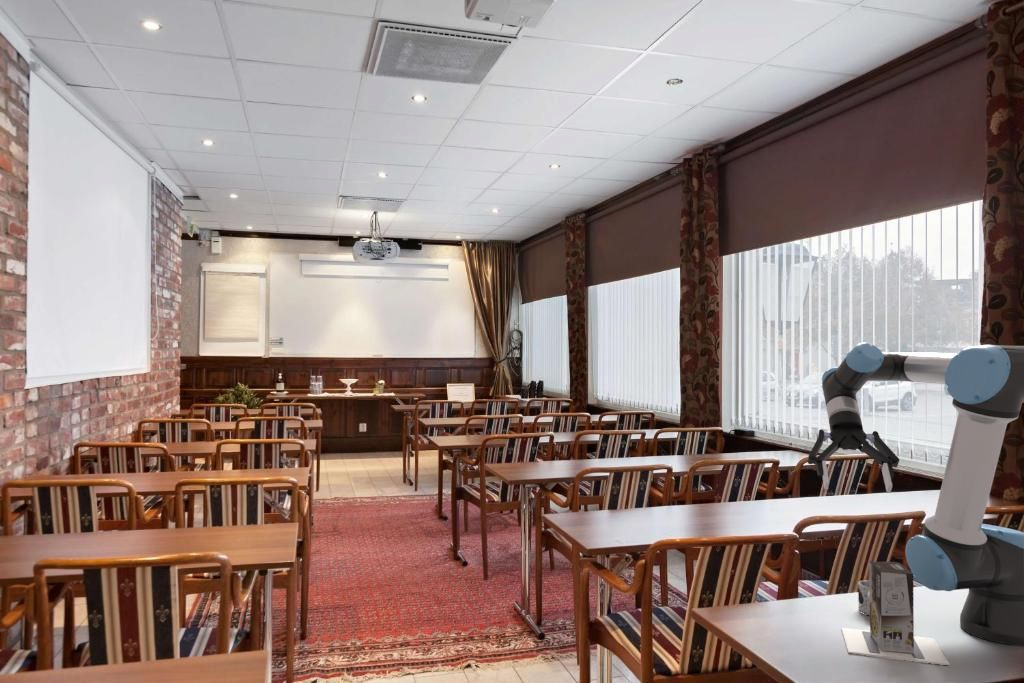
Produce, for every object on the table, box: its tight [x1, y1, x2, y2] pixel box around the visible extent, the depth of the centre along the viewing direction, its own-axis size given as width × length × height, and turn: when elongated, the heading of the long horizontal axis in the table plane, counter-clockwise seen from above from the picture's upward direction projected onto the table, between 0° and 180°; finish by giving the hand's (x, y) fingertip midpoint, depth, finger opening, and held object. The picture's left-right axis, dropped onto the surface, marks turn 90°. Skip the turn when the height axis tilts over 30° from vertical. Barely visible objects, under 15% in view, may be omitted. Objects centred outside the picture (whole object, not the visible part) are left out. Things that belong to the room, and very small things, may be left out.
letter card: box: [840, 627, 950, 666], centre depth 150 cm, size 18×14×1 cm
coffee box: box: [868, 560, 915, 653], centre depth 151 cm, size 9×6×16 cm
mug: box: [857, 579, 870, 617], centre depth 170 cm, size 10×7×7 cm
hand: (857, 487), depth 169 cm, fingers open, 13 cm apart
